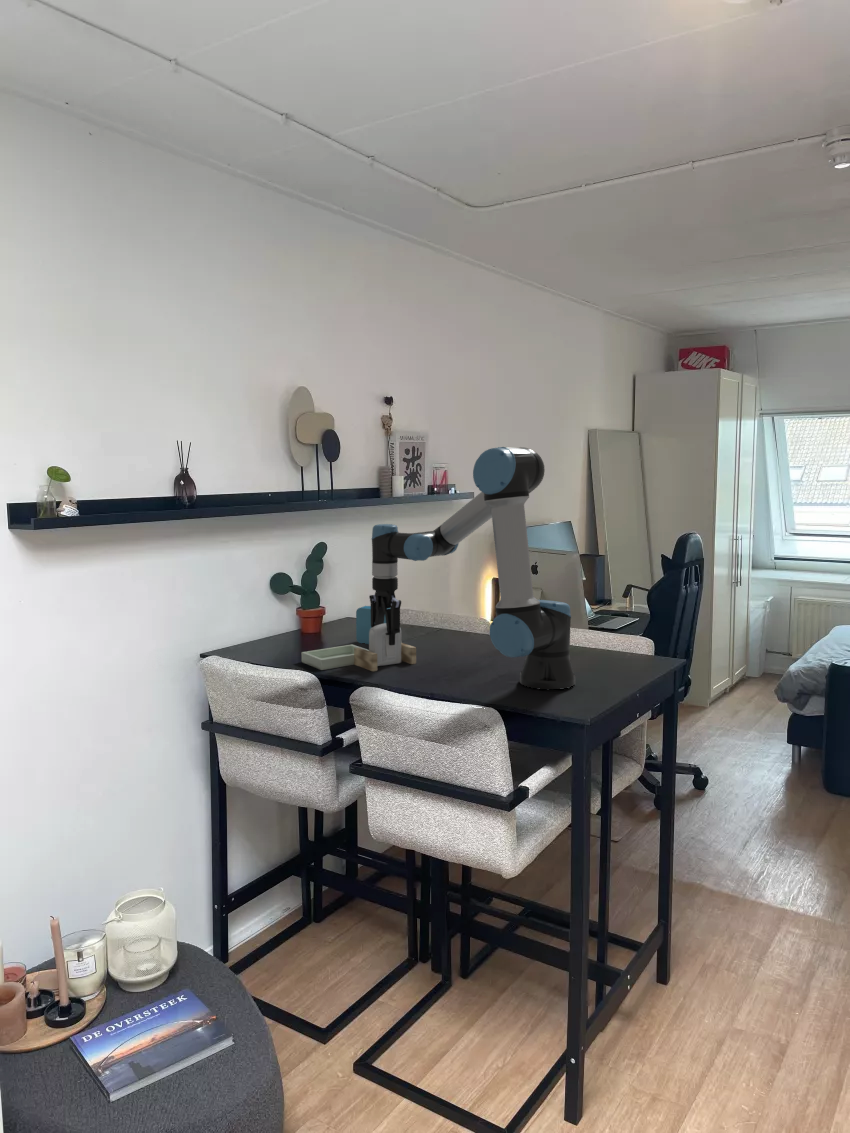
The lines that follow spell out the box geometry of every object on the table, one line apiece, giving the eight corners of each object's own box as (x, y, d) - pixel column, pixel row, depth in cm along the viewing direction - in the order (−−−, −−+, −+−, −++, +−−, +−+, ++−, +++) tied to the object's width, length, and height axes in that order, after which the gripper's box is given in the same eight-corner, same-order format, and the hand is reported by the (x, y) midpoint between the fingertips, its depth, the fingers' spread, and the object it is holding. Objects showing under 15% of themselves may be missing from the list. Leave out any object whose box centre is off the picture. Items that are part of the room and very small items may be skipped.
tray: (373, 661, 258) (373, 651, 258) (321, 670, 247) (321, 660, 247) (352, 653, 267) (352, 644, 267) (301, 662, 257) (301, 652, 256)
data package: (394, 643, 282) (394, 608, 280) (388, 646, 278) (388, 610, 276) (362, 640, 287) (362, 605, 285) (356, 643, 282) (355, 607, 281)
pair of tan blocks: (416, 663, 255) (416, 647, 255) (372, 671, 246) (372, 654, 245) (397, 657, 263) (397, 641, 262) (354, 664, 254) (354, 648, 253)
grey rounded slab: (396, 660, 259) (396, 620, 258) (403, 663, 256) (403, 623, 254) (366, 665, 254) (366, 624, 252) (373, 668, 250) (373, 626, 248)
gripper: (412, 579, 246) (412, 657, 249) (379, 572, 260) (379, 646, 263) (391, 581, 242) (391, 661, 245) (358, 574, 256) (358, 650, 259)
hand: (385, 653), depth 254 cm, fingers open, 4 cm apart
